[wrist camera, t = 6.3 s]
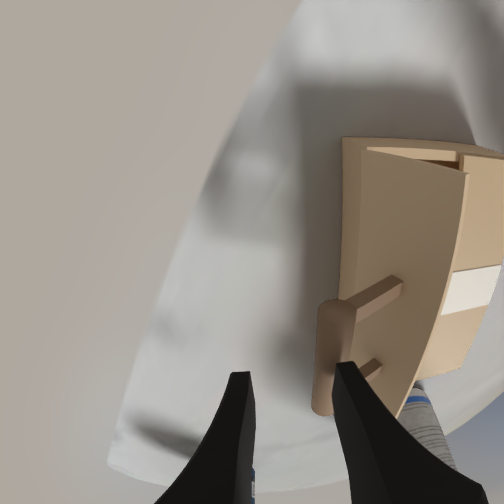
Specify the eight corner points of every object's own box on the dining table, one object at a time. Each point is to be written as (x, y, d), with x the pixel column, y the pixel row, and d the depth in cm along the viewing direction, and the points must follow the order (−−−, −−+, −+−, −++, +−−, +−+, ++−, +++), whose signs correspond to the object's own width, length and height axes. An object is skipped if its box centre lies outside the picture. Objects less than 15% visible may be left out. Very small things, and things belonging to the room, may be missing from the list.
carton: (476, 145, 15) (521, 161, 11) (438, 333, 22) (460, 369, 18) (341, 137, 15) (371, 148, 11) (332, 352, 22) (343, 397, 18)
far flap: (342, 391, 19) (286, 424, 17) (367, 149, 11) (275, 162, 10) (388, 433, 15) (331, 476, 13) (469, 173, 8) (395, 194, 6)
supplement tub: (340, 403, 26) (366, 538, 13) (428, 370, 24) (479, 493, 11) (351, 438, 30) (370, 541, 17) (422, 413, 28) (455, 510, 15)
